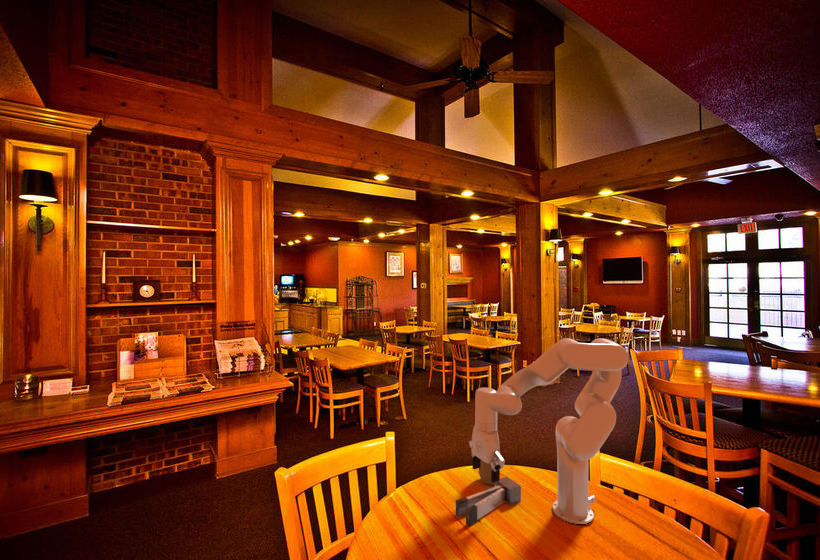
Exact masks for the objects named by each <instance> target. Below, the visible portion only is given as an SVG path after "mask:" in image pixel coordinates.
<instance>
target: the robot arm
mask: <svg viewBox="0 0 820 560" xmlns="http://www.w3.org/2000/svg"><path fill="white" fill-rule="evenodd" d="M629 357H630V356H629V354H628V351H627V350H626V349H625V347H624V346H622V345H621V344H619V343H617V342H614V341H611V340H609V339H608V338H603V337H602V338H599V337H598V338H595V339H593V340H592V341H591V342H590V343H587V342H578V341H576V340H575V339H572V338H570V337H569V338H568V337H567V338H566V337H565V338H561V339H560V340H558V341H557V342H555V343H554V344H553V345H552V346H551V347H549V349H547V350H546V351H545V352H544V353H543V354H541V355H540V356H539V357H538V358H537V359H536V360H535V361H533V362H532V363H531V364H529V365H527V366H525V367H524V368H522V369H520V370H518V371H517V372H515V373H513V374H512V375H511V376H510V377H508V378H507V379H506V380H505V381H504V382H503V383H502V384H501V385H500V386H499V387H498V388H497V389H496V390H495V389H494V388H492V387H479V388H477V389H476V390H475V395H474V399H475V401H474V402H475V403H474V405H475V406H474V408H475V409H474V410H475V411H474V426H473V428H472V435H471V440H469V441H468V445H469V450H470V452H471V457H472V469H473V470H477V469H478V470H479V468H480V467H481V460H482V461H484V462H486V463H487V464H491V467H492V469H493V470H491V482H492V483H494V482H497V481H499V480H500V479H501V478H500V477H501V476H500V475H501V473H500V471H501V470H502V469H503V468H504V465H505V463H506V460H505V459H504V457H503V456H502V455H501V452H500V449H501V448H500V446H501V445H500V438H499V431H498V414H502V415H506V416H507V415H508V416H514V415H518V414H519V413H520V412H521V411H522V407H523V402H522V400H521V397H522V396H523V395H524V394H525V393H526V392H528V391H529V390H531V389H533V388H536V387H538V386H539V387H540V386H547V385H550V384H552V383H553V382H554V381H555V380H556V379H558V378H559V377H560V376H561V375H562V374H564V373H565V372H566V371H568V370H569V369H572V370H577V371H591V372H592V373H591V375H590V377H589V379H588V381H587V382H586V383H585V386H583V388H582V390H581V391H580V393H579V394H578V396H577V397H576V400H575V401H574V408H575V411H576V413H577V414H578V415H579V418H577V417H575V416H572V415H566V416H563V417H562V418H560V419H558V421H557V423H556V425H555V440H556V442H555V444H556V456H557V457H556V458H557V460H556V462H557V463H556V466H557V467H556V469H557V471H556V472H557V474H556V476H557V479H556V481H557V485H556V486H557V488H556V489H557V493H556V494H557V499H556V500H555V501H554V502H553V503H552V511H553V513H554V515H555V516H556V517H557V518H559V519H560V518H561V519H560V520H562V519H563V520H562V521H564V522H566V521H567V522H566V523H568V522H570V523H569V524H571V523H575V524H574V525H576V524H585V523H589V522H591V521H592V520H593V518H594V519H595V514H594V511H593V510H592V508H591V505H592V504H593V503H595V502H597V498H596V496H595V495H589V461H590V459H592V458H594V457H595V456H596V455H597V453H598V452H599V451H600V449H601V448H602V446H603V445H604V443H605V442H606V441H607V439H608V437H609V436H610V434H611V433H612V431H613V430H614V428H615V425H616V421H617V413H616V410H615V408H614V407H613V405H612V404H611V402H612V400H613V399H614V397H615V395H616V394H617V391H618V390H619V387H620V384H621V382H622V370H623V369H624V368H625V367H626V366H627V365H628V363H629ZM494 462H495V463H496V465H497V466H495V465H494ZM590 515H591V516H590ZM593 521H594V520H593ZM593 521H592V522H593ZM592 522H591V523H592ZM589 524H590V523H589Z"/></svg>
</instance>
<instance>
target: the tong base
mask: <svg viewBox="0 0 820 560" xmlns="http://www.w3.org/2000/svg"><path fill="white" fill-rule="evenodd" d="M495 485H496V486H493V487H491V488H488V489H486V490H483V491H479V492H477V493H474V494H472V495H468V496H464V497H461V498H459V499H456V500H455V516H456V517H457V518H460V517H463V516H466V509H467V508H469V507H471V506H472V505H474V504H476V503H478V502H479V501H481V500H483V499H484V498H486V497H488V496H489V495H491V494H492V493H494V492H496V491H497V490H499V489H501V488H503V489H504V495H505V502H504V503H506V504H507V505H509V506H513V505H515V504H517V503H518V504H519V503H520V502H521V501H522V500H521V499H522V496H521V495H522V494H521V493H522V486H521V484H519V483H517V482H516V481H514V480H513V479H511V478H509V477H508V476H505V477H501V478H500V480H499V481H497V482H496V484H495Z"/></svg>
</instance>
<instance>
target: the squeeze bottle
mask: <svg viewBox="0 0 820 560" xmlns="http://www.w3.org/2000/svg"><path fill="white" fill-rule="evenodd" d="M494 465H495V466H497V465H496V463H495V462H494ZM491 470H493V469H492V467H491V464H487V463H486V462H484V461H482V460H481V467H480V468H478V475H479V477H480V481H481V482H482V483H483V484H484V485H488V486H493V485H496V482H494V483H492V482H491Z"/></svg>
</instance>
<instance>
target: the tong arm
mask: <svg viewBox="0 0 820 560" xmlns="http://www.w3.org/2000/svg"><path fill="white" fill-rule="evenodd" d="M504 503H506V502H505V495H504V489H503V488H501V489H499V490H497V491H496V492H494V493H492V494H491V495H489V496H488V497H486V498H484V499H483V500H481V501H479V502H478V503H476V504H474V505H472V506H471V507H469V508H467V509H466V515H465V524H466V525H467V526H468V527H470V526H472V525H473V524H475V523H476V522H478V521H479V520H480V519H482V517H484V516H486V515H487V514H489V513H491V512H492V511H493V510H495V509H497V508H498V507H499V506H501V505H503V504H504Z"/></svg>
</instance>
